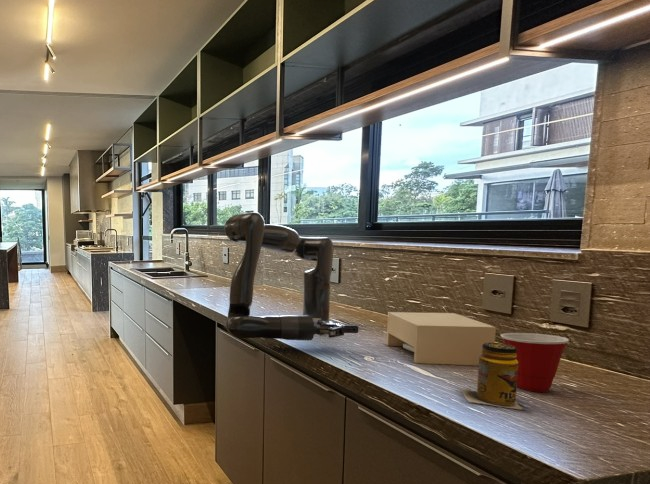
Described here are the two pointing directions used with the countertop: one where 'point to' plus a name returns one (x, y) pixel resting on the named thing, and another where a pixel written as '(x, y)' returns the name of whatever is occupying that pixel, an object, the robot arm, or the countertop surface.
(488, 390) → the condiment
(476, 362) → the cover
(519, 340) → the plastic cup
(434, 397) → the countertop surface
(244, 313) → the robot arm
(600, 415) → the countertop surface
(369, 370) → the countertop surface
